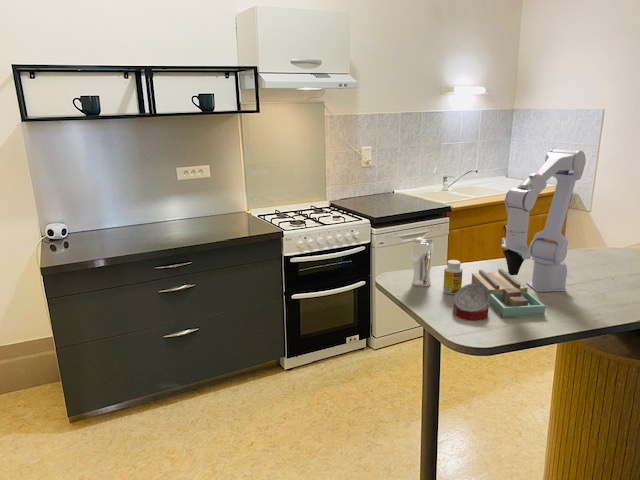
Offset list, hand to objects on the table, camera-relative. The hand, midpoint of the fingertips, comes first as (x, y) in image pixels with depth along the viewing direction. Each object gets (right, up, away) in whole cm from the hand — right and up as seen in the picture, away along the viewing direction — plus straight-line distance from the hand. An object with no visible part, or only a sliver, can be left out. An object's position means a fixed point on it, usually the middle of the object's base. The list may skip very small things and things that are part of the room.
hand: (513, 274), depth 144 cm
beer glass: (-23, -5, +20) cm, 31 cm away
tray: (0, -10, -1) cm, 10 cm away
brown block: (0, -7, -1) cm, 7 cm away
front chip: (0, -7, -3) cm, 7 cm away
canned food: (-14, -11, -3) cm, 18 cm away
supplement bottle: (-15, -7, +12) cm, 20 cm away
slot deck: (0, -6, +11) cm, 13 cm away
